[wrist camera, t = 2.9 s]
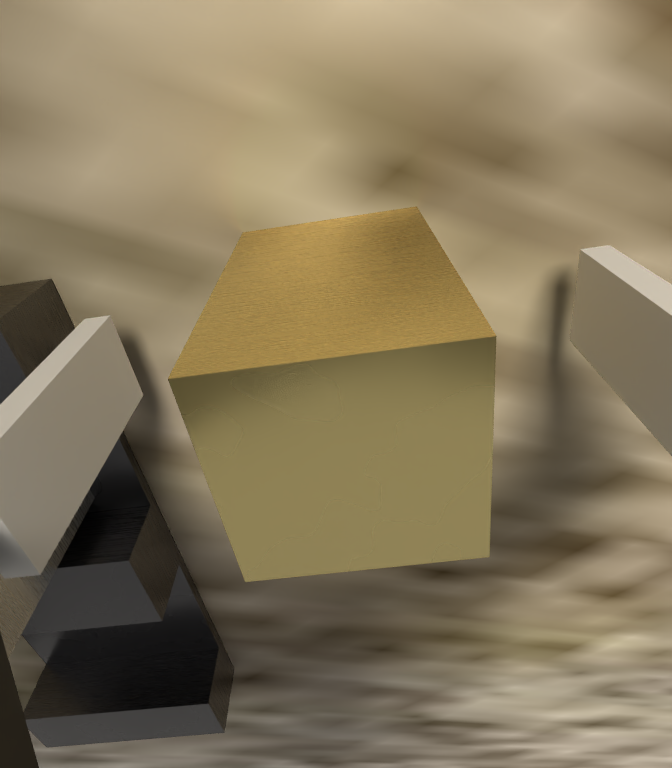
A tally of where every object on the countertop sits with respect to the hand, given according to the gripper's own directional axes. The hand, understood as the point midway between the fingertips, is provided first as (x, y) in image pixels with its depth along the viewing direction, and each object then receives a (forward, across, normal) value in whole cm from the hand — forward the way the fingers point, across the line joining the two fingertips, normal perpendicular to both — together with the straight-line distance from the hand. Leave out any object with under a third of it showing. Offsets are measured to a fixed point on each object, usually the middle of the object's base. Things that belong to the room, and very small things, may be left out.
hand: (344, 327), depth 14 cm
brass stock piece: (+2, 0, 0) cm, 2 cm away
